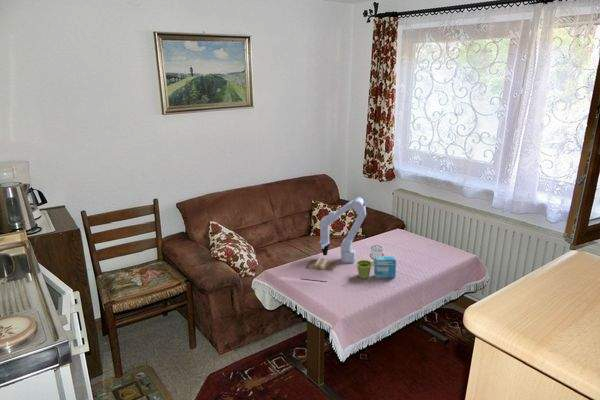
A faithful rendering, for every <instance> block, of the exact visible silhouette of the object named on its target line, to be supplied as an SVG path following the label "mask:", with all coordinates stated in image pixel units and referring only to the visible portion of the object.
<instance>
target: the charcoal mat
mask: <svg viewBox="0 0 600 400" xmlns="http://www.w3.org/2000/svg"><path fill="white" fill-rule="evenodd" d="M301 280H303V281H313V282H318V283H319V282H321V283H327V282H328V281H327V280H326V281H325V280H316V279H308V278H301Z"/></svg>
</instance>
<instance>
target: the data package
mask: <svg viewBox="0 0 600 400" xmlns="http://www.w3.org/2000/svg"><path fill="white" fill-rule="evenodd" d="M373 263H374V264H373V265H374V268H373V269H374V270H373V271H374V272H373V273H374V276H375V278H377V279H393V278H396V276H397V275H396V274H397V273H396V272H397V261H396V258H395V257H394V256H375V258H374V262H373Z"/></svg>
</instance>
